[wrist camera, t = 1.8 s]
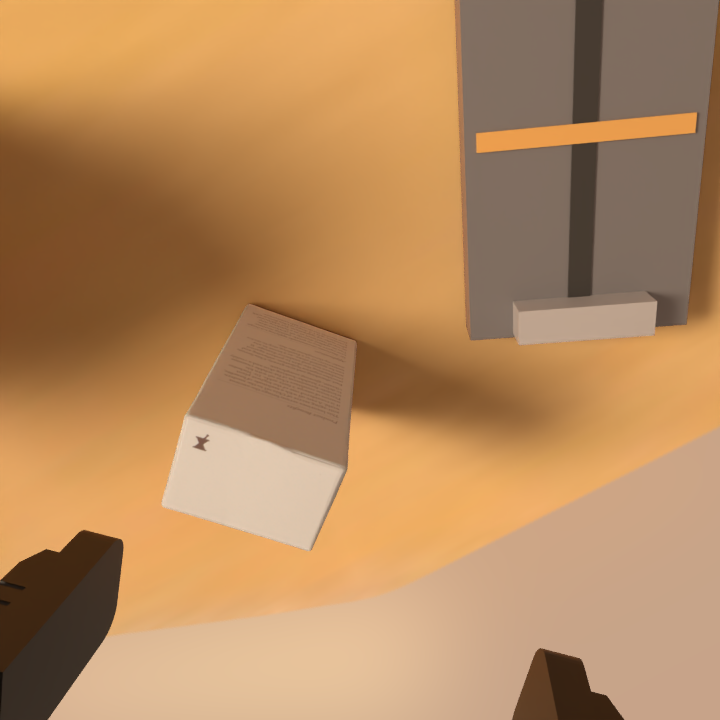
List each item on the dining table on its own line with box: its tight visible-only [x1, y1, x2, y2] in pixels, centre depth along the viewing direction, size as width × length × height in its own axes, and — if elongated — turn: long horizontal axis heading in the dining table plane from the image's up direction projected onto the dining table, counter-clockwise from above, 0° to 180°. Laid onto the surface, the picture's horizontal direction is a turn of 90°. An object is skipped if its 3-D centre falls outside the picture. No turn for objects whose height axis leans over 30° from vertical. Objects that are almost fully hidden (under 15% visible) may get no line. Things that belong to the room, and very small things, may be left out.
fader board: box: [455, 0, 719, 345], centre depth 27 cm, size 26×10×4 cm, turn 5°
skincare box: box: [162, 304, 357, 551], centre depth 30 cm, size 6×4×12 cm
